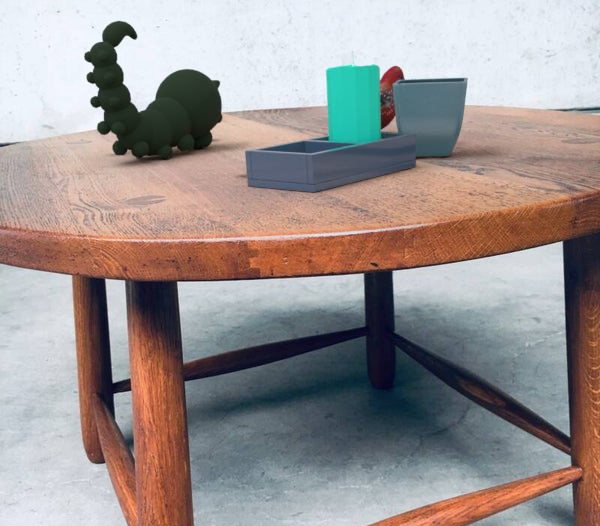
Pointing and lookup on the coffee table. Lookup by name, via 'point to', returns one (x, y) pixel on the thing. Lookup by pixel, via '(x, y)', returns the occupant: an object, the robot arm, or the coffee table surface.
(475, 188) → the coffee table surface
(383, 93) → the decorative bird figurine
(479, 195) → the coffee table surface
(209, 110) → the toy figurine
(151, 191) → the coffee table surface
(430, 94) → the flower pot
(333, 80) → the candle
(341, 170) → the divided storage tray
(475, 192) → the coffee table surface
